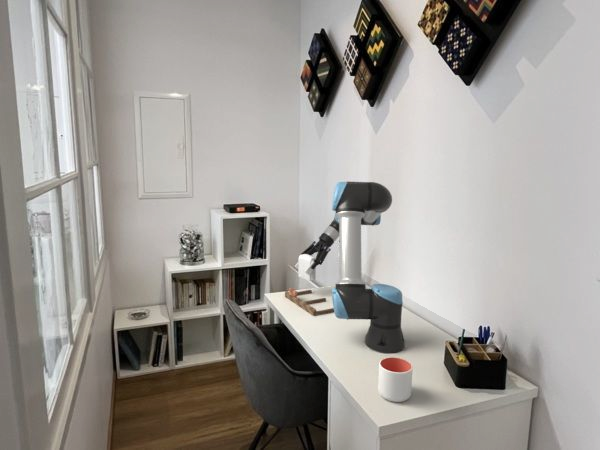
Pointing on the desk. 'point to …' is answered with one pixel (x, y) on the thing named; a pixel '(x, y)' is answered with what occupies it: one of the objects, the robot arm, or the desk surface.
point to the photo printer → (303, 264)
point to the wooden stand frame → (306, 302)
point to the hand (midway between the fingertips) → (301, 270)
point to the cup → (395, 379)
